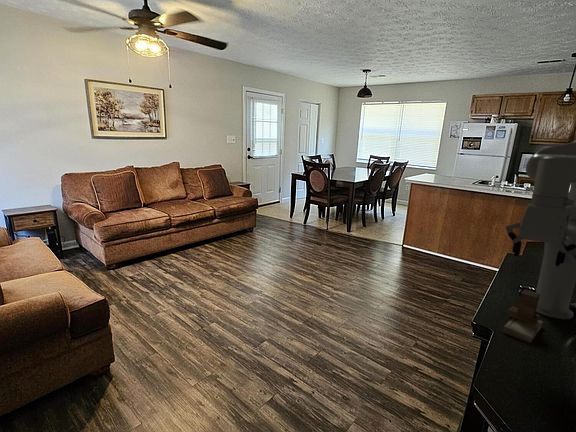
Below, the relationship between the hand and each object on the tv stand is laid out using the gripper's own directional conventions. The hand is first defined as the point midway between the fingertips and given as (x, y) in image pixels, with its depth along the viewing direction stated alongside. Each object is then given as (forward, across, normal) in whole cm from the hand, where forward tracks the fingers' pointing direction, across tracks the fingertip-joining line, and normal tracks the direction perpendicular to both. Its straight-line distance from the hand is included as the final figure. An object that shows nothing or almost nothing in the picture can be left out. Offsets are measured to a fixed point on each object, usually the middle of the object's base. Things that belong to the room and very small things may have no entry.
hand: (536, 260), depth 91 cm
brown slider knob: (+25, +1, -7) cm, 26 cm away
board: (+25, 0, -4) cm, 25 cm away
